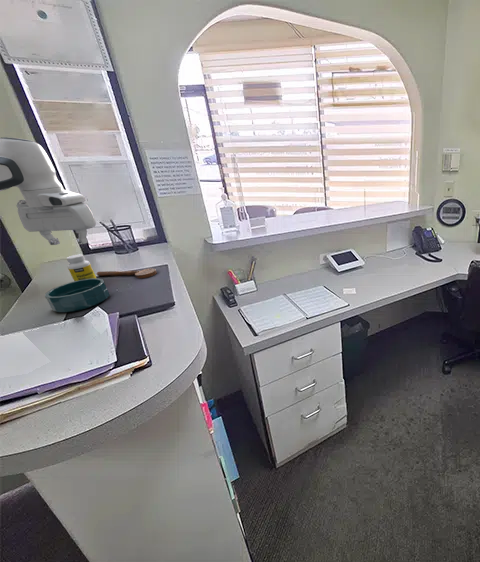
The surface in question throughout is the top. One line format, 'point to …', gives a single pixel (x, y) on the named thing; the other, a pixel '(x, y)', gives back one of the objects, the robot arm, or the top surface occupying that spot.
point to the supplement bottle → (80, 268)
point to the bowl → (77, 295)
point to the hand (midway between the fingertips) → (69, 244)
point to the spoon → (129, 273)
